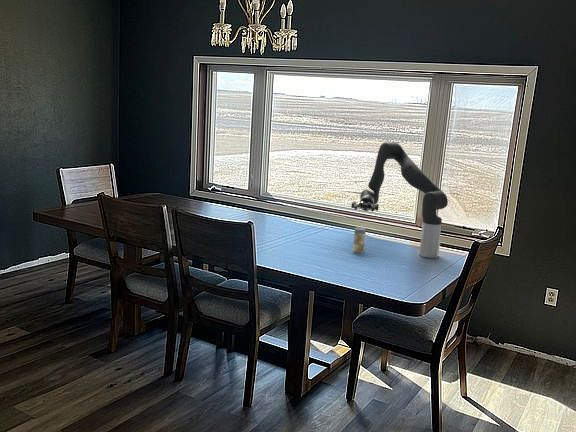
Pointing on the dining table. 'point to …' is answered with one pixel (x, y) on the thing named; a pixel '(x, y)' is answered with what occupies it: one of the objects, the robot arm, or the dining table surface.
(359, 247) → the maple block
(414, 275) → the dining table surface
